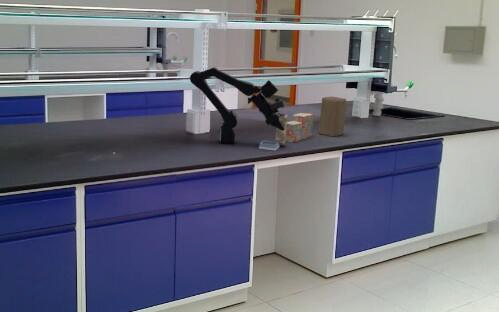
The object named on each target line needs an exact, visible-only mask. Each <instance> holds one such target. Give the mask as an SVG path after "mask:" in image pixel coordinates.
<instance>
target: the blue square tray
mask: <svg viewBox="0 0 499 312" xmlns="http://www.w3.org/2000/svg"><path fill="white" fill-rule="evenodd" d="M279 148H280V143H279V142H275V141H274V140H273V141H272V140H267V139H266V140H265V139H263V140H262V141H261V142H259V145H258V149H261V150H267V151H277V150H278V149H279Z"/></svg>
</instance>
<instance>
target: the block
mask: <svg viewBox="0 0 499 312" xmlns="http://www.w3.org/2000/svg"><path fill="white" fill-rule="evenodd" d="M320 105H321V107H320V116H319V126H318V133H319V134H320V135H324V136H328V137H331V138H332V137H338V136H342V135H344V129H345V127H344V126H345V119H346V109H347V99H346V98H343V97H337V96H326V97H325V96H324V97H322V98H321V104H320Z"/></svg>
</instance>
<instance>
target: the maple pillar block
mask: <svg viewBox="0 0 499 312" xmlns="http://www.w3.org/2000/svg"><path fill="white" fill-rule="evenodd" d="M277 114H278V113H277ZM278 116H279V121H280V123H281V124H282V126H283V128H284V130H283V131H282V130H280V129H278V128H276V127H275V128H276V129H275V141H274V142H279V144H283V145H284V144H285V143H286V141H285V139H286V127H287V122H288V114H285V113H280V114H278Z"/></svg>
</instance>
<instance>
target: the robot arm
mask: <svg viewBox="0 0 499 312" xmlns="http://www.w3.org/2000/svg"><path fill="white" fill-rule="evenodd" d="M212 77H213V78H216V79H218V80H219V81H222V82H223V83H225V84H227V85H230V86H232V87H233V88H235V89H236V90H238V91H239V92H241V93H242V94H243V95H245V96H246V97H247V104H250V103H253V105H254V106H255V107H256V108H257V109H258V111H259V113H261V114H262V115H263V116H264V119H265V123H266V125H267V126H271V127H274V128H278V129H280V130H282V131H283V130H284V128H283V126H282V124H281V123H280V121H279V116H278V114H281V113H280V110H279V109H281V108H284V107H285V103H284V101H283V99H280V97H278V98H275V101H274V102H272V103H271V101H268V100H267V99H268V98H269V99H271V98H272V97H273V96H274V95H275V94H276V93H278V91H279V89H278V88H277V86H276V85H275V84H274V83H272V82H271V81H270V80H269V79H268V80H267V81H266V82H265V83H264V84H263V85H261V86H258V85H255V84H254V83H252V82H249V81H246V80H241V79H238V78H237V77H234V76H233V75H230V74H228V73H226V72H224V71H222V70H220V69H219V68H217V67H216V66H215V67H213V66H212V67H211V68H209V69H205V70H202V71H197V70H196V71H193V72H192V73H191V74H190V75H189V81H190V82H191V84H192V85H193V86H195V87H196V88H197V89H198V90H199V91H201V92H202V93H203V95H204V96H206V98H207V99H208V101H209V102H210V103H211V104H212V106H214V108H215V109H216V110H217V111H218V113H219V114H220V117H221V118H222V120H223V122H222V123H221V126H220V129H219V130H220V131H219V139H218V141H219V143H220V144H232V145H233V144H235V142H236V141H235V140H236V133H235V130H234V128H236V127H237V125H238V123H239V117H238V114H236V112H235V111H234V109H233V108H231V110H230V109H229V108H227V107H226V105H225V103H223V102H222V100H221V99H220V98H219V97H218V95H216V93H215V92H214V90H213V89H212V88H211V87H210V86H209V84H208V82H207V79H210V78H212Z"/></svg>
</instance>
